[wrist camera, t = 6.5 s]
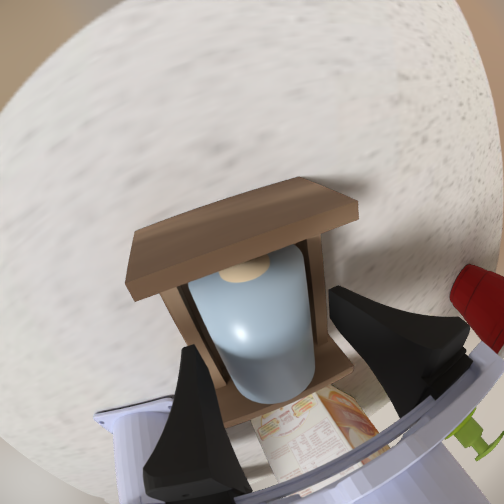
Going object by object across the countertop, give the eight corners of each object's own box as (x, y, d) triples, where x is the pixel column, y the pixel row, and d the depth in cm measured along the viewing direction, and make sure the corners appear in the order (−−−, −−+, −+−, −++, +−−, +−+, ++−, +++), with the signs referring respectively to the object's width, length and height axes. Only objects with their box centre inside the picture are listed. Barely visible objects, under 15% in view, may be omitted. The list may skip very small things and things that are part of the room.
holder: (317, 327, 20) (353, 372, 16) (206, 372, 18) (223, 428, 14) (298, 176, 14) (357, 200, 10) (134, 231, 13) (125, 283, 8)
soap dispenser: (432, 343, 32) (512, 424, 14) (413, 374, 34) (482, 452, 17) (409, 355, 30) (497, 449, 13) (389, 387, 32) (462, 476, 15)
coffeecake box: (355, 397, 29) (434, 503, 13) (312, 428, 30) (380, 536, 13) (302, 364, 21) (425, 544, 5) (242, 408, 22) (329, 584, 5)
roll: (310, 334, 17) (319, 399, 13) (236, 343, 18) (230, 407, 13) (296, 227, 13) (311, 292, 9) (199, 244, 14) (173, 310, 10)
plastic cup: (435, 288, 25) (511, 348, 14) (480, 230, 24) (550, 272, 14) (436, 331, 30) (490, 381, 20) (477, 281, 30) (530, 321, 20)
